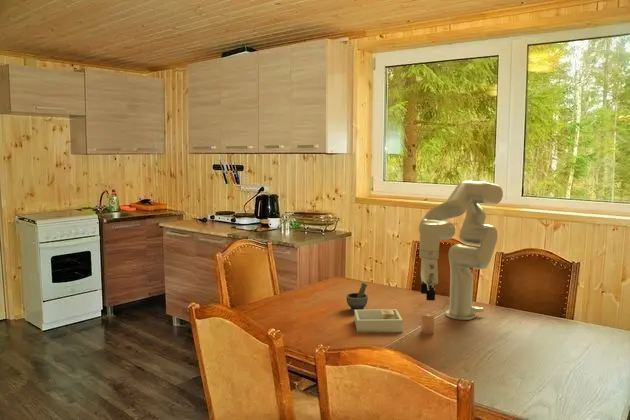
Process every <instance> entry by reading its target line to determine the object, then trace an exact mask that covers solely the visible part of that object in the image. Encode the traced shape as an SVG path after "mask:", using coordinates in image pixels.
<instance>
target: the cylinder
mask: <svg viewBox="0 0 630 420" xmlns="http://www.w3.org/2000/svg"><path fill="white" fill-rule="evenodd" d="M420 324H421V325H420V327H421V328H420V333H421V334H423V335H434V333H435V314H433V313H428V312H426V313H425V312H424V313H421V322H420Z"/></svg>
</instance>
